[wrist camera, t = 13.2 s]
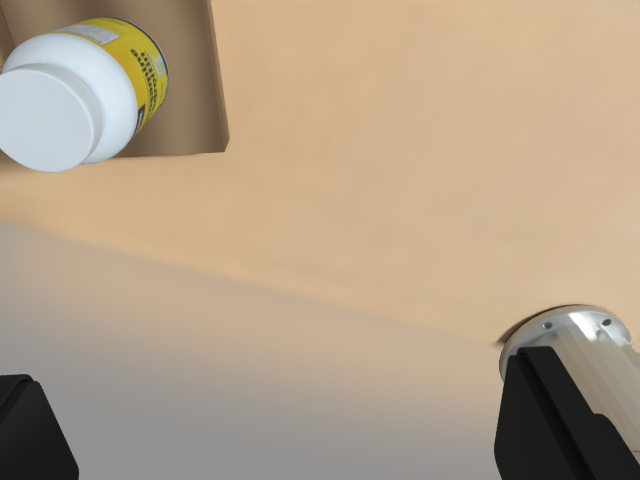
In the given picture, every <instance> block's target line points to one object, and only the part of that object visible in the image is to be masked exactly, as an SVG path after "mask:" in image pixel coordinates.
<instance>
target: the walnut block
mask: <svg viewBox="0 0 640 480" xmlns="http://www.w3.org/2000/svg"><path fill="white" fill-rule="evenodd" d="M0 5H1V8H2V11H3V14H4V17H5V20H6V23H7V26H8V29H9V32H10V35H11V38H12V41H13V44H14V47H15V48H16V47H18V46H19V45H20V44H22V43H23V42H25V41H27V40H28V39H30V38H33V37H36V36H38V35H41V34H44V33H47V32H50V31H54V30H57V29H60V28H64V27H67V26H70V25H73V24H76V23H79V22H83V21H86V20H89V19H92V18H97V17H116V18H121V19H124V20H127V21H129V22H131V23H133V24H135V25H137V26H139V27H140V28H142V29H143V30H144V31H146V32H147V33H148V34H149V35H150V36H151V37H152V38H153V39H154V40H155V42H156V43H157V44H158V46H159V47H160V49H161V51H162V53H163V55H164V57H165V59H166V62H167V66H168V71H169V86H168V91H167V95H166V97H165V99H164V102H163V103H162V105H161V106H160V108H159V109H158V110H157V111H156V112H155V114H154V115H153V116H152V117H151V118H150V119H149V120H148V121H147V123H146V124H145V125H144V126H143V127H142V128H141V129H140V131H139V132H138V133H137V134H136V135H135V136H134V137H133V138H132V139H131V140H130V141H129V143H128V144H127V145H126V146H125V147H124V148H123V149H122V150H121V151H120V152H118V153H117V154H116V155H114V156H113V157H111V158H119V157H139V156H158V155H177V154H196V153H215V152H225V149H226V146H227V144H228V141H229V138H230V137H229V130H228V122H227V115H226V108H225V101H224V94H223V86H222V79H221V72H220V65H219V58H218V50H217V43H216V36H215V29H214V22H213V15H212V7H211V0H0Z"/></svg>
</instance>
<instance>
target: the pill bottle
mask: <svg viewBox="0 0 640 480" xmlns="http://www.w3.org/2000/svg"><path fill="white" fill-rule="evenodd" d="M168 86H169V71H168V66H167V62H166V59H165V57H164V55H163V53H162V51H161V49H160V47H159V46H158V44H157V43H156V42H155V40H154V39H153V38H152V37H151V36H150V35H149V34H148V33H147V32H146V31H144V30H143V29H142V28H140V27H139V26H137V25H135V24H133V23H131V22H129V21H127V20H124V19H121V18H116V17H97V18H92V19H89V20H86V21H83V22H79V23H76V24H73V25H70V26H67V27H64V28H60V29H57V30H54V31H50V32H47V33H44V34H41V35H38V36H36V37H33V38H30V39H28V40H27V41H25V42H23V43H22V44H20V45H19V46H18V47H16V48H15V49H14V50H13V52H12V53H11V54H10V55H9V57H8V58H7V60H6V62H5V64H4V66H3V69H2V72H1V74H0V149H1V150H2V151H3V152H4V153H5V154H7V155H8V156H9V157H10V158H12V159H13V160H15V161H16V162H18V163H20V164H21V165H23V166H26V167H28V168H30V169H34V170H37V171H42V172H52V173H53V172H62V171H66V170H69V169H72V168H74V167H76V166H78V165H87V164H94V163H99V162H102V161H104V160H107V159H109V158H111V157H113V156H114V155H116V154H117V153H118V152H120V151H121V150H122V149H123V148H124V147H125V146H126V145H127V144H128V143H129V141H130V140H131V139H132V138H133V137H134V136H135V135H136V134H137V133H138V132H139V131H140V129H141V128H142V127H143V126H144V125H145V124H146V123H147V121H148V120H149V119H150V118H151V117H152V116H153V115H154V114H155V112H156V111H157V110H158V109H159V108H160V106H161V105H162V103H163V102H164V99H165V97H166V95H167V91H168Z"/></svg>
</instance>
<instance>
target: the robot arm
mask: <svg viewBox="0 0 640 480" xmlns="http://www.w3.org/2000/svg"><path fill="white" fill-rule="evenodd" d="M499 371H500V374H501V378H502V380H503V382H504V387H503V394H502V400H501V406H500V412H499V418H498V425H497V431H496V438H495V444H494V454H495V460H496V464H497V467H498V470H499V473H500V475H501V478H502V480H640V354H639V353H638V352H636V351H635V350H634V349H633V348H632V340H631V336H630V333H629V331H628V329H627V328H626V327H625V325H624V324H623V323H622V321H621V320H620V319H619V318H617V317H616V316H615V315H614V314H613V313H611V312H609V311H607V310H605V309H602V308H598V307H595V306H586V305H576V306H566V307H561V308H557V309H554V310H551V311H548V312H545V313H543V314H541V315H539V316H537V317H535V318H533V319H531V320H530V321H528V322H527V323H525V324H524V325H522V326H521V327H520V328H519V329H518V330H517V331H516V332H515V333H514V334H513V335H512V336H511V337H510V338H509V340H508V341H507V342H506V344H505V346H504V348H503V350H502V352H501V356H500V360H499ZM78 479H79V469H78V465H77V463H76V461H75V459H74V457H73V455H72V452H71V450H70V448H69V446H68V444H67V441H66V439H65V437H64V435H63V433H62V431H61V428H60V426H59V424H58V422H57V420H56V417H55V415H54V413H53V411H52V409H51V406H50V404H49V402H48V400H47V398H46V396H45V393H44V391H43V389H42V387H41V385H40V383H38V382H37V381H33V379H32V378H31V376H29V375H27V374H19V375H1V376H0V480H78Z"/></svg>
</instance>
